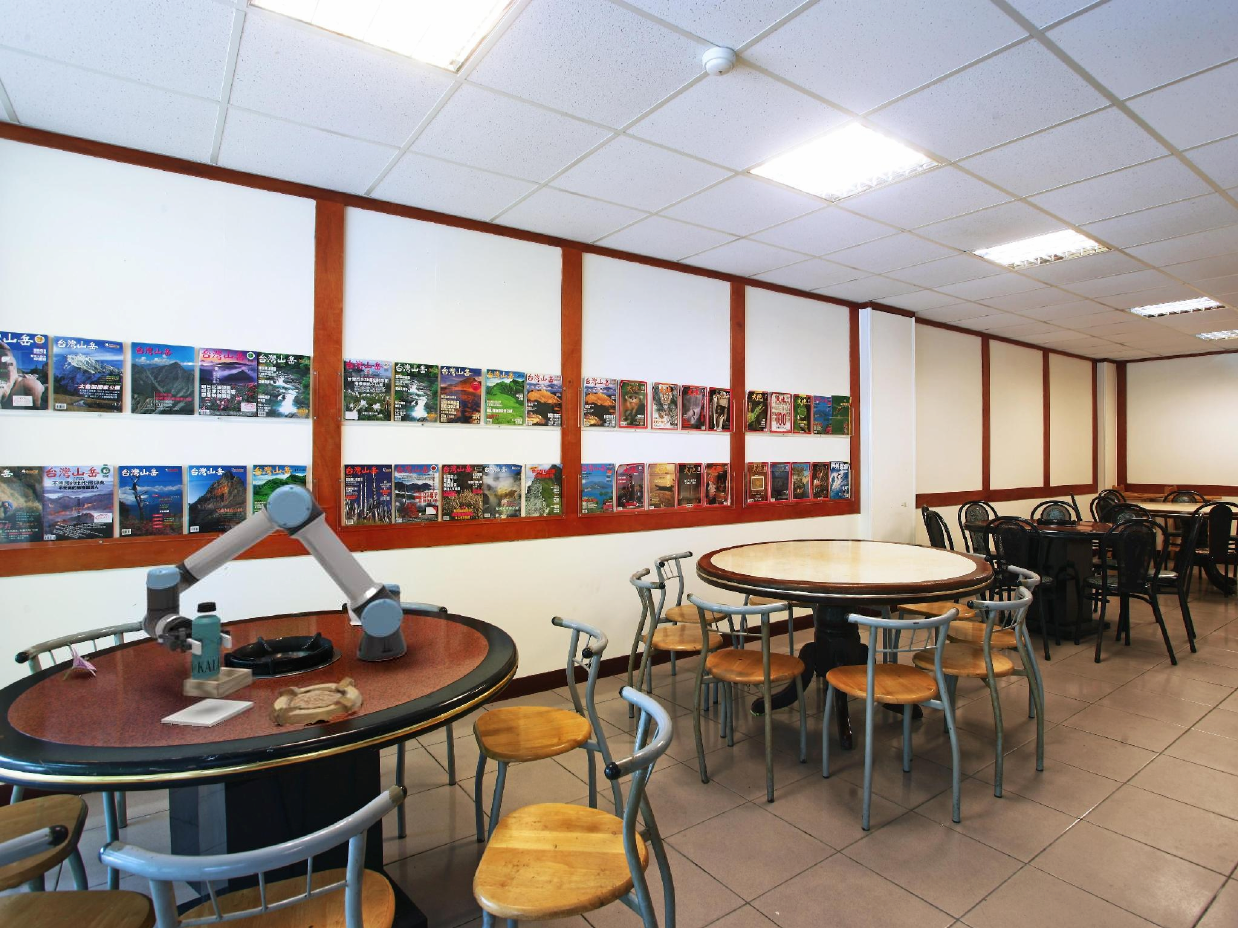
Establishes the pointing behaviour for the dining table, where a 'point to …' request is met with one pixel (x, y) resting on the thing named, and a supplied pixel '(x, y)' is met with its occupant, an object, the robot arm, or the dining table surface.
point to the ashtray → (315, 703)
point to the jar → (352, 615)
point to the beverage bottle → (206, 643)
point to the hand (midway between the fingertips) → (214, 645)
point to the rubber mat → (208, 712)
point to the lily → (80, 662)
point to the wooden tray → (219, 683)
